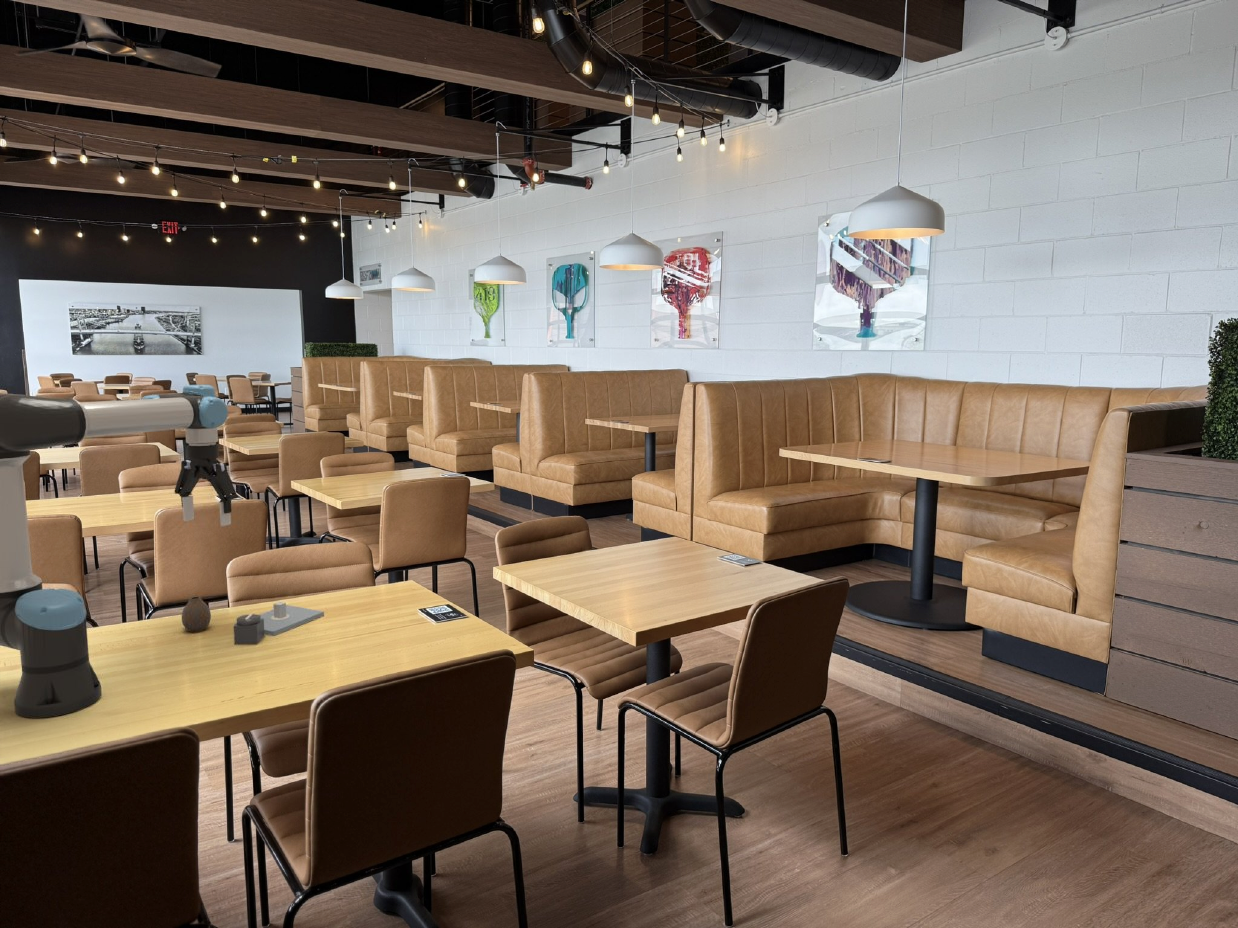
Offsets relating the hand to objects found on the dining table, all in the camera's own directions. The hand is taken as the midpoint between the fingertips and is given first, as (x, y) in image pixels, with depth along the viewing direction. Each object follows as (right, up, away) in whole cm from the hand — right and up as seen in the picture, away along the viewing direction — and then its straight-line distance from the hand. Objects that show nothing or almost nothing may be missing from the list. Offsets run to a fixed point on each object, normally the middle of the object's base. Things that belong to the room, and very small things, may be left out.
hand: (207, 522), depth 218 cm
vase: (-2, -29, -1) cm, 29 cm away
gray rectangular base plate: (+17, -28, +6) cm, 33 cm away
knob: (+15, -30, -8) cm, 34 cm away
